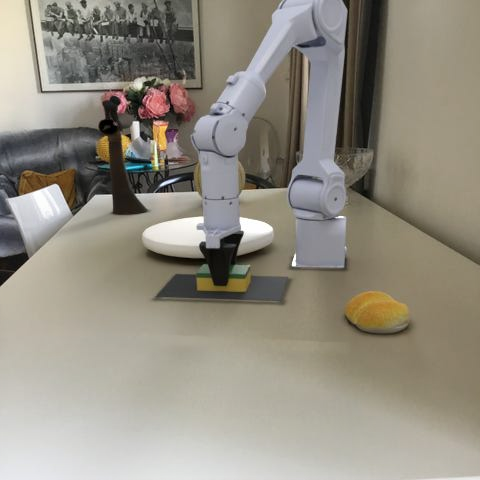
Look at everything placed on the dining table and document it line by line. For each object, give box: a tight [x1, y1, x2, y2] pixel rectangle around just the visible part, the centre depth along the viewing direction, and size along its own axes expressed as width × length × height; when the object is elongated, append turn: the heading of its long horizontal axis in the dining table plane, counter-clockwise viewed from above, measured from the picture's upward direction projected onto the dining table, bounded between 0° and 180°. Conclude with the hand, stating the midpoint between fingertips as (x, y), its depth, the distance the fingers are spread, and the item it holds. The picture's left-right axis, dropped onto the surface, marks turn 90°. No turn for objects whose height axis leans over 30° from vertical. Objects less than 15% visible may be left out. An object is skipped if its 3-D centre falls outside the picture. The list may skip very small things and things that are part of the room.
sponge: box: [195, 263, 251, 292], centre depth 93 cm, size 8×5×3 cm, turn 80°
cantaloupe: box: [193, 160, 246, 198], centre depth 161 cm, size 15×15×15 cm
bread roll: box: [344, 290, 411, 334], centre depth 78 cm, size 8×9×4 cm
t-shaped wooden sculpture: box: [97, 95, 148, 215], centre depth 151 cm, size 32×10×30 cm, turn 4°
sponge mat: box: [155, 273, 289, 302], centre depth 94 cm, size 20×12×1 cm, turn 80°
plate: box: [141, 216, 275, 259], centre depth 116 cm, size 28×6×27 cm
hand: (224, 279), depth 93 cm, fingers closed on sponge, 5 cm apart
